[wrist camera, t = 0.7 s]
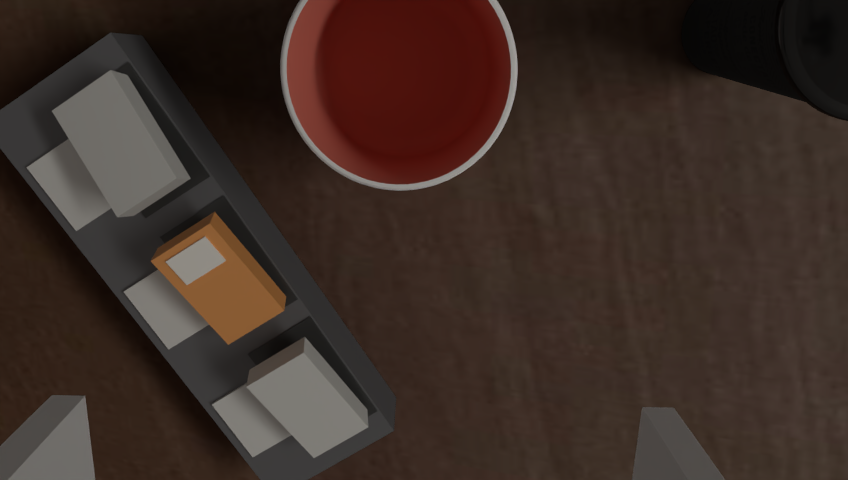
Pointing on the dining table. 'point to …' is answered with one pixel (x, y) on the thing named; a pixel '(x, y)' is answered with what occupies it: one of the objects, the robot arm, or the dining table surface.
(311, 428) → the rocker
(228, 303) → the block
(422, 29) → the cup
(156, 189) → the block
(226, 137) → the dining table surface
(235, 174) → the switch panel
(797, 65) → the drinking cup
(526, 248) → the dining table surface
